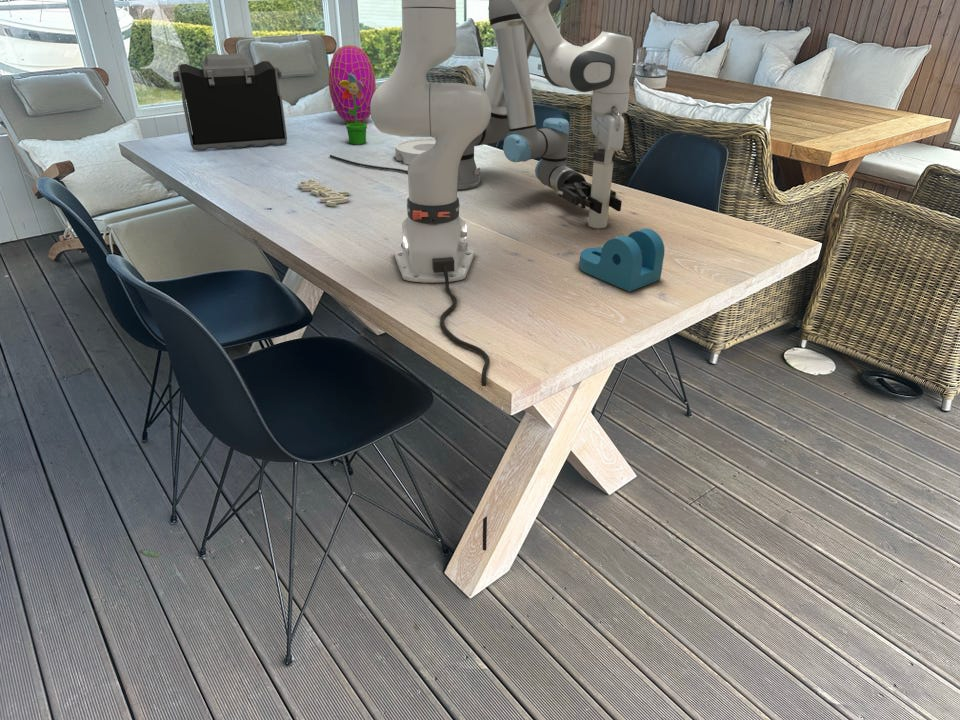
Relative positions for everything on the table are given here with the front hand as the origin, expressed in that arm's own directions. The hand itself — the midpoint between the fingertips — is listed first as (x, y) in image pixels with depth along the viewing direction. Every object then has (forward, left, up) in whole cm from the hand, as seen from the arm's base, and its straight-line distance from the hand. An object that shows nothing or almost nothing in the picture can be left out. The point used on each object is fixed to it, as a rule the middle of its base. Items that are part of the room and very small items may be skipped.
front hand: (604, 160), depth 176 cm
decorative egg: (+131, +79, -17) cm, 153 cm away
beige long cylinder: (0, 0, -17) cm, 17 cm away
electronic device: (+95, +119, -17) cm, 153 cm away
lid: (0, 0, +2) cm, 2 cm away
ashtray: (+71, +47, -17) cm, 87 cm away
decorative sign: (+29, +77, -17) cm, 84 cm away
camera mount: (-33, +3, -17) cm, 37 cm away
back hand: (-5, -2, -11) cm, 12 cm away
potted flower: (+94, +74, -17) cm, 120 cm away
